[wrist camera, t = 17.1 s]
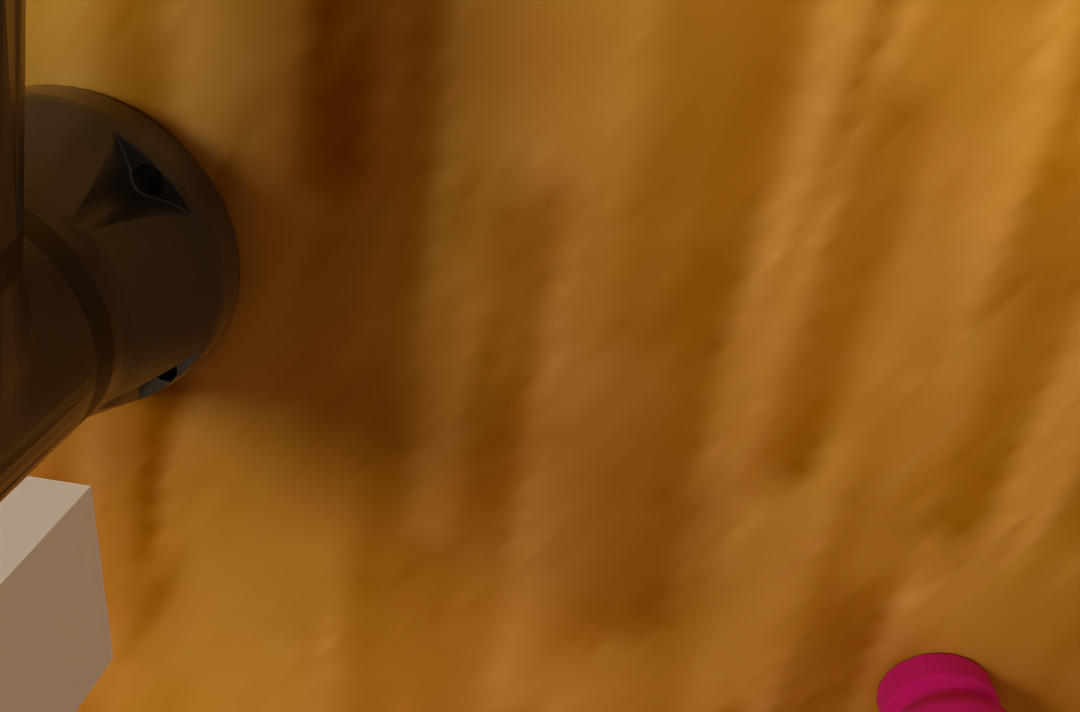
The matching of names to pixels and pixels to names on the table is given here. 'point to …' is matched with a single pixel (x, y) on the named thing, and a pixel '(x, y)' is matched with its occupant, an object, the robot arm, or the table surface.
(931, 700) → the pepper mill
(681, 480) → the table surface
